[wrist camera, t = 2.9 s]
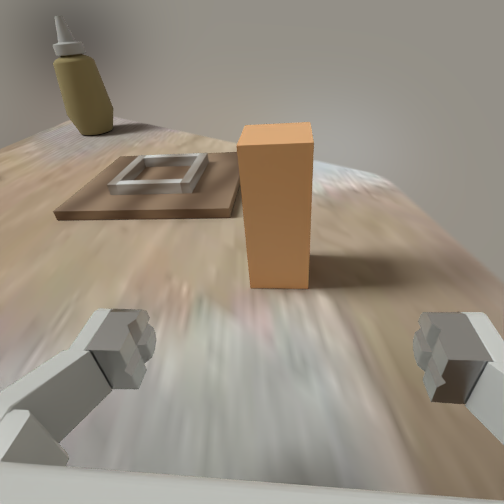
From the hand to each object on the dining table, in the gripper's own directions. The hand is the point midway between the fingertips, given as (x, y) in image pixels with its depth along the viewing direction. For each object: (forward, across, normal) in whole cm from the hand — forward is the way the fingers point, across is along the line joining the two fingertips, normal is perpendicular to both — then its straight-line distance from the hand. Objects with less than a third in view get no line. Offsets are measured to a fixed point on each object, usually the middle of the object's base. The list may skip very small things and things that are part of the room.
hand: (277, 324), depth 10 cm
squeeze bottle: (+54, +37, +7) cm, 66 cm away
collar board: (+28, +15, +7) cm, 33 cm away
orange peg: (+12, +1, +8) cm, 15 cm away
